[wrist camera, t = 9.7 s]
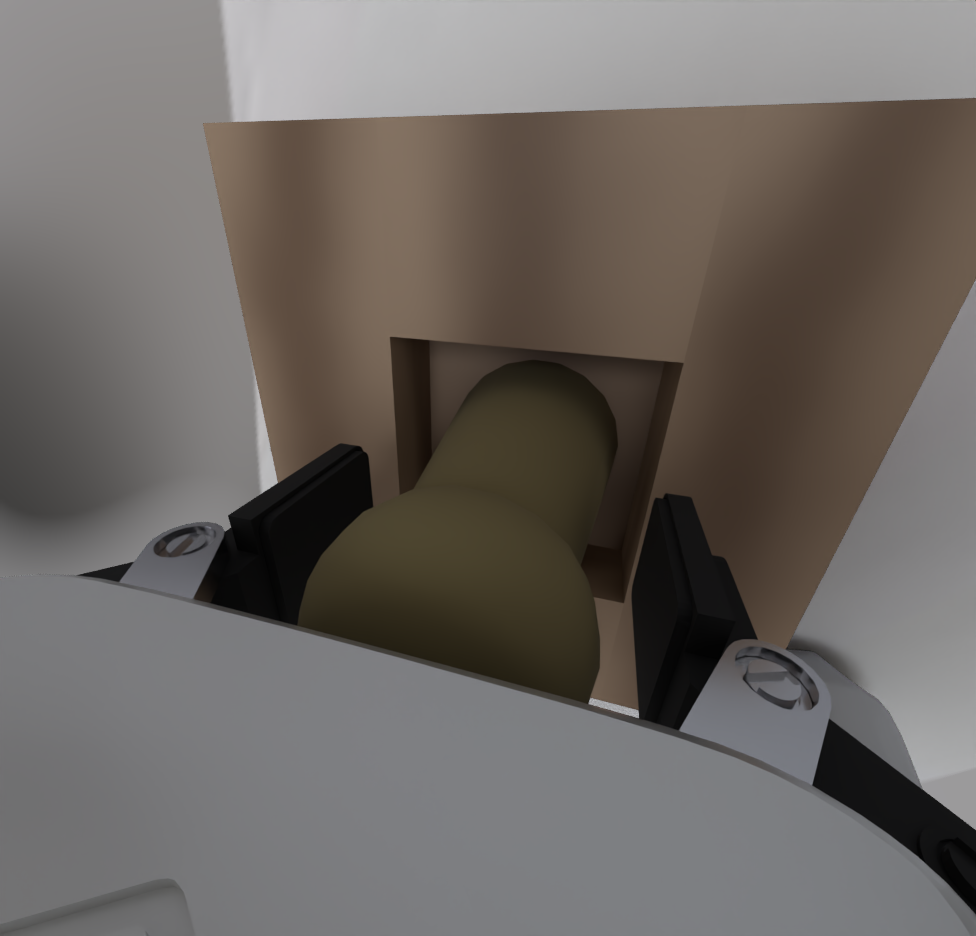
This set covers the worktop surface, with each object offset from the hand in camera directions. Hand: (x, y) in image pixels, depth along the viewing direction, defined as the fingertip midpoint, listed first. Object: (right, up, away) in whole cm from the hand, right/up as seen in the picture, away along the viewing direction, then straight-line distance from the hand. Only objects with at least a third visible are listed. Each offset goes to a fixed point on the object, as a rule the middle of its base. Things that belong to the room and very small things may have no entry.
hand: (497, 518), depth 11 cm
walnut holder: (+2, +3, +6) cm, 6 cm away
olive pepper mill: (+1, +2, +5) cm, 6 cm away
